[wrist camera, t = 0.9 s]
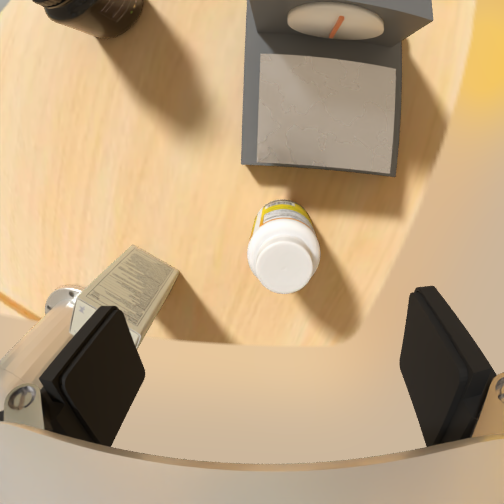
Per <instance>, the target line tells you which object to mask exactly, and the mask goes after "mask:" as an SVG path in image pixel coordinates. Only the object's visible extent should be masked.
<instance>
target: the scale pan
mask: <svg viewBox="0 0 504 504" xmlns="http://www.w3.org/2000/svg"><path fill="white" fill-rule="evenodd" d="M395 87H396V69H393V68H388V67H383V66H378V65H372V64H366V63H360V62H354V61H347V60H339V59H331V58H322V57H312V56H300V55H284V54H260V82H259V110H258V137H257V162H261V163H281V164H296V165H310V166H323V167H334V168H344V169H354V170H363V171H372V172H380V173H388V174H390V168H391V157H392V145H393V132H394V115H395Z"/></svg>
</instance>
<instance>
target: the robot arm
mask: <svg viewBox="0 0 504 504" xmlns="http://www.w3.org/2000/svg"><path fill="white" fill-rule="evenodd" d="M84 289H85V288H82V287H79V286H74V285H65V286H62V287H59V288H57V289H56V290H55V291H54V292H52V293H51V294H50V295H49V297H48V299H47V301H46V304H45V316H44V317H43V318H42V319H41V320H40V321H39V322H38V323H37V324H35V325H34V327H32V328H31V329H30V330H29V332H27V333H26V334H25V335H24V336H23V337H22V338H21V339H20V341H19V342H17V343H16V344H15V345H14V347H13V348H12V349H11V350H10V351H9V352H8V353H7V354H6V355H5V356H4V357H3V358H2V359H1V360H0V504H504V372H503V373H501V374H498V375H496V373H495V372H494V370H493V369H492V367H491V365H490V364H489V362H488V361H487V359H486V358H485V356H484V354H483V353H482V351H481V350H480V348H479V347H478V346H477V344H476V343H475V341H474V340H473V338H472V337H471V335H470V334H469V332H468V331H467V330H466V328H465V327H464V325H463V324H462V323H461V322H460V320H459V319H458V318H457V316H456V314H455V313H454V312H453V310H452V309H451V308H450V306H449V305H448V304H447V302H446V301H445V300H444V298H443V297H442V296H441V294H440V293H439V292H438V291H437V289H436V288H435V287H434V286H427V287H418V288H416V289H415V292H414V293H411V294H410V297H409V304H408V311H407V319H406V325H405V332H404V339H403V344H402V350H401V356H400V370H401V372H402V375H403V378H404V381H405V383H406V386H407V389H408V392H409V395H410V397H411V400H412V403H413V406H414V409H415V412H416V415H417V418H418V421H419V424H420V427H421V430H422V433H423V436H424V440H425V443H426V446H427V447H425V448H420V449H415V450H410V451H404V452H399V453H393V454H387V455H380V456H374V457H367V458H359V459H350V460H341V461H330V462H316V463H297V464H240V463H220V462H207V461H195V460H187V459H178V458H170V457H163V456H156V455H150V454H144V453H138V452H133V451H127V450H122V449H117V448H113V447H111V445H112V443H113V441H114V439H115V437H116V435H117V433H118V431H119V429H120V427H121V425H122V423H123V421H124V419H125V416H126V414H127V412H128V410H129V408H130V406H131V404H132V402H133V400H134V398H135V396H136V394H137V392H138V390H139V388H140V386H141V384H142V382H143V380H144V378H145V370H144V367H143V364H142V362H141V359H140V357H139V354H138V352H137V349H136V346H135V344H134V341H133V338H132V336H131V333H130V330H129V328H128V325H127V322H126V319H125V316H124V313H123V312H122V311H121V310H119V308H118V307H117V306H100V307H99V308H98V309H97V310H96V311H95V312H94V314H93V315H92V316H91V317H90V318H89V319H88V320H87V321H86V323H85V324H84V325H83V326H82V327H81V328H80V329H79V331H78V332H77V333H76V334H75V335H72V334H71V333H69V328H70V322H71V317H72V313H73V308H74V305H75V301H76V297H77V296H78V295H79V294H80V293H81V292H82V291H83V290H84Z"/></svg>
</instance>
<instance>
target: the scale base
mask: <svg viewBox="0 0 504 504" xmlns="http://www.w3.org/2000/svg"><path fill="white" fill-rule="evenodd" d="M432 21H433V12H432V2H431V0H247V15H246V38H245V63H244V90H243V119H242V151H241V164H242V165H265V166H284V167H299V168H313V169H325V170H336V171H346V172H356V173H365V174H374V175H383V176H390V177H396V168H397V157H398V146H399V133H400V116H401V89H402V46H401V41H402V40H404V39H405V38H407V37H408V36H410V35H411V34H413V33H414V32H416V31H418V30H419V29H421V28H422V27H424V26H425V25H427V24H429V23H430V22H432ZM260 54H284V55H300V56H312V57H322V58H331V59H339V60H347V61H354V62H360V63H366V64H372V65H378V66H383V67H388V68H393V69H396V87H395V115H394V132H393V145H392V157H391V168H390V174H388V173H380V172H372V171H363V170H354V169H344V168H334V167H323V166H310V165H296V164H281V163H261V162H257V137H258V110H259V82H260Z"/></svg>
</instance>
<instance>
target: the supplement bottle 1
mask: <svg viewBox="0 0 504 504" xmlns="http://www.w3.org/2000/svg"><path fill="white" fill-rule="evenodd" d="M32 1H33V2H35V3H36V4H39V5H42V6H43V7H44V9H45V12H46V14H47V16H48V17H49V18H50V19H51V20H52V21H54V22H56V23H59V24H62V25H65V26H68V27H71V28H73V29H76V30H79V31H82V32H85V33H87V34H90V35H93V36H95V37H99V38H112V37H115V36H118V35H120V34H122V33H124V32H125V31H126V30H128V29H129V28H130V27H131V26H132V25H133V24H134V23H135V22H136V20H137V19H138V17H139V15H140V13H141V10H142V6H143V0H32Z"/></svg>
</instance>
